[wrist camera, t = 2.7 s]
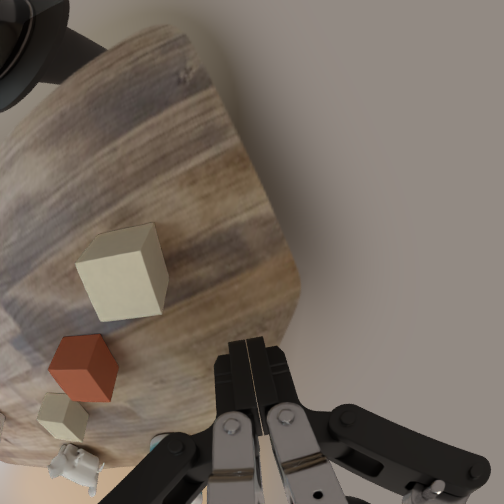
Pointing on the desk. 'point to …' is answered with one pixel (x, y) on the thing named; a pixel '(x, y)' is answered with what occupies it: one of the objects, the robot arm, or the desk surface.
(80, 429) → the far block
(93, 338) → the block
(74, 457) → the elephant figurine
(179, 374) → the desk surface
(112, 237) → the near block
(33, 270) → the desk surface
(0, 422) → the bracket
